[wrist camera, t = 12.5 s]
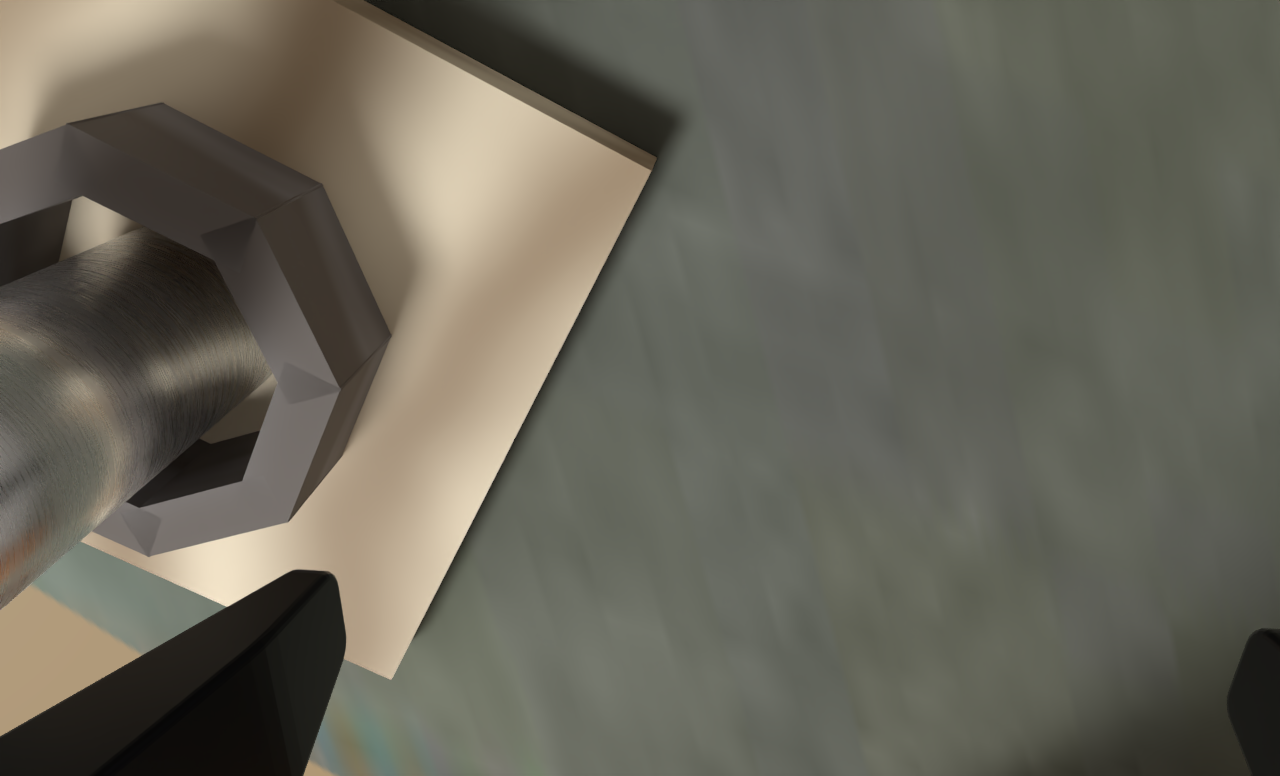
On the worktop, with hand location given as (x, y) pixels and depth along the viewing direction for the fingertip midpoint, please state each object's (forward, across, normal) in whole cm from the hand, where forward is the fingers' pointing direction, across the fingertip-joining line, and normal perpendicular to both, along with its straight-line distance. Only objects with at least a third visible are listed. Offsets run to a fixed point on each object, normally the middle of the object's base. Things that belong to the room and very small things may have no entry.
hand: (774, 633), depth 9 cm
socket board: (+13, +13, +1) cm, 18 cm away
